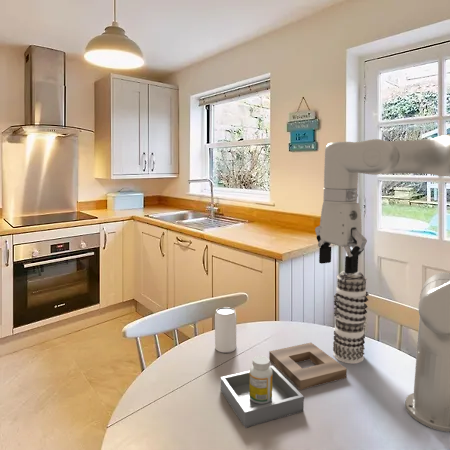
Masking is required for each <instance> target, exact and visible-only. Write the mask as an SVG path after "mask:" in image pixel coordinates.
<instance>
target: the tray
mask: <svg viewBox="0 0 450 450" xmlns="http://www.w3.org/2000/svg"><path fill="white" fill-rule="evenodd" d="M270 367H271V369H272V372H273V376H272V399H271V401H270V402H268V403H266V404H257V403H254V402H253V401H252V400H251V399H250V390H249V389H250V370H246V371H242V372H238V373H233V374H228V375H224V376H220V392H221V393H222V394H223V397H224V398H225V399H226V401H227V403H228V404H229V406H230V407H231V408H232V410H233V412H234V413H235V414H236V416H237V419H238V420H240V423H241V424H242V426H243V427H244V429H246V428H249V427H253V426H257V425H261V424H264V423H267V422H271V421H275V420H277V419H281V418H284V417H288V416H291V415H295V414H296V415H297V414H299V413H302V412H304V404H305V403H304V402H305V401H304V400H305V396H304V395H303V394H302V393H301V392H300V391H299V389H298V388H296V387H295V386H294V385H293V383H291V382H290V380H288V379H287V377H286V376H285V375H284V374H283V373H282V372H281V371H280V370H279V369H278V368H277V367H275V365H274V364H273V365H270ZM285 377H286V378H285Z"/></svg>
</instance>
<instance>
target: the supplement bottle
mask: <svg viewBox="0 0 450 450" xmlns="http://www.w3.org/2000/svg"><path fill="white" fill-rule="evenodd" d="M270 366H271V361H270V359H269V357H267V356H265V355H256V356H254V357H253V358H252V366H250V368H249V371H250V389H249V390H250V399H251V400H252V401H253V402H254V403H257V404H266V403H268V402H270V401H271V399H272V376H273V372H272V369H271V367H270Z"/></svg>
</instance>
